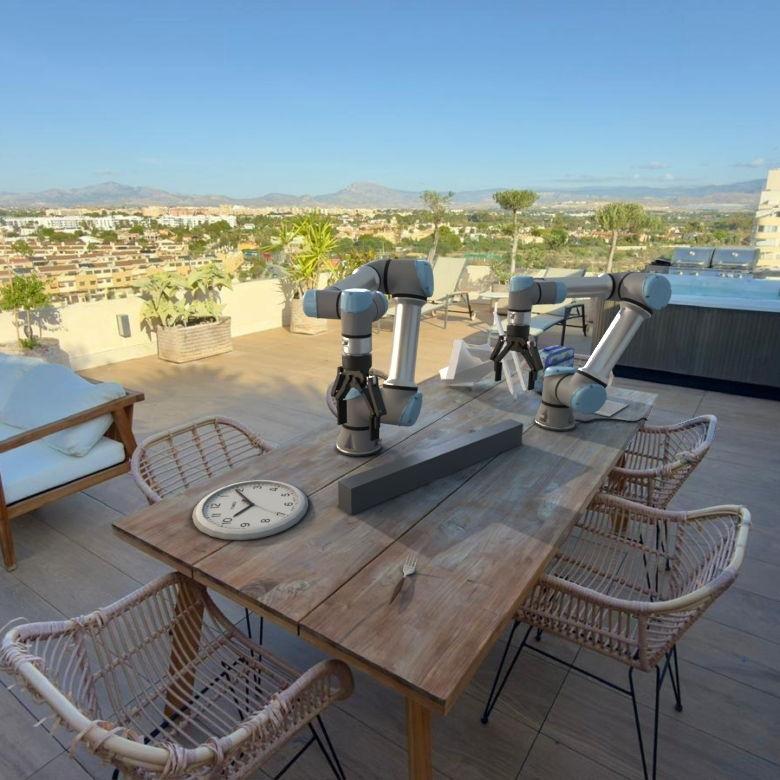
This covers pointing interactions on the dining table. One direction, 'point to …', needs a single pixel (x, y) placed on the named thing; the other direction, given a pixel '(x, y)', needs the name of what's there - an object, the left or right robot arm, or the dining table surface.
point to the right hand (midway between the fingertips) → (513, 385)
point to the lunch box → (553, 362)
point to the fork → (407, 571)
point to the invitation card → (610, 408)
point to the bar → (425, 466)
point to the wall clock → (250, 510)
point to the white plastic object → (479, 363)
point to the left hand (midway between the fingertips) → (357, 431)
